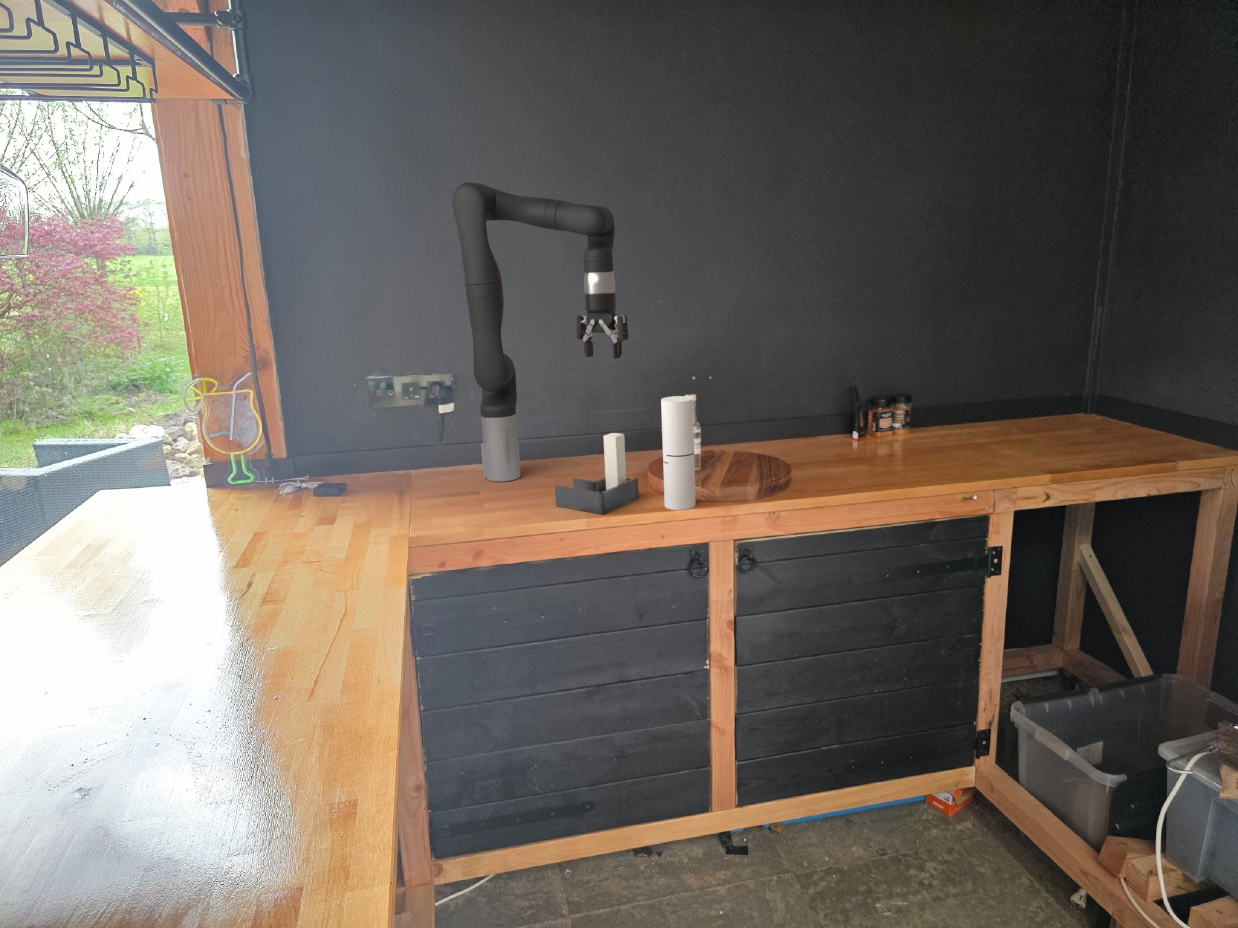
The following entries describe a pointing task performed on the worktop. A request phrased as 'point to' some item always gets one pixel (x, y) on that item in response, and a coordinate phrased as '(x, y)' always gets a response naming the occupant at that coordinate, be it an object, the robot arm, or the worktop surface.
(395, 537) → the worktop surface
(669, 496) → the cylindrical container
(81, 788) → the worktop surface
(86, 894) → the worktop surface
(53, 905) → the worktop surface
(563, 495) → the dark open tray
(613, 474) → the peg
